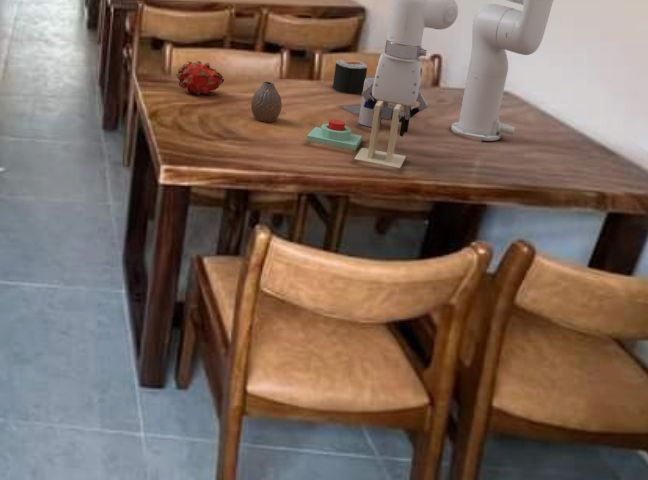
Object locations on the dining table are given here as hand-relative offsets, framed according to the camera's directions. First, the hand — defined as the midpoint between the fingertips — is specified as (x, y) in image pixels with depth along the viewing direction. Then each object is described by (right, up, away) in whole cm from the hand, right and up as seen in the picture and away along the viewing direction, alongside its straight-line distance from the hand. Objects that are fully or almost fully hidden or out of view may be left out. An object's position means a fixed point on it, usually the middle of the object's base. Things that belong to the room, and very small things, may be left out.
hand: (389, 131), depth 219 cm
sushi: (-12, +20, +49) cm, 54 cm away
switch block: (-12, -3, 0) cm, 13 cm away
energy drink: (-5, +4, +17) cm, 18 cm away
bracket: (-2, -8, -6) cm, 10 cm away
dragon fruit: (-47, +13, +22) cm, 53 cm away
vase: (-29, +4, +10) cm, 31 cm away
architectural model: (-4, +11, +33) cm, 34 cm away
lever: (0, +1, -6) cm, 6 cm away
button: (-12, 0, -1) cm, 12 cm away
